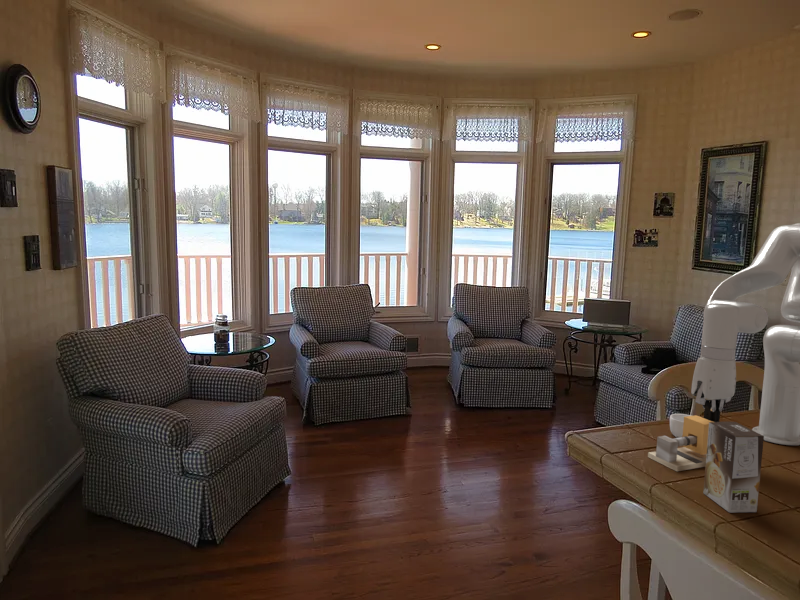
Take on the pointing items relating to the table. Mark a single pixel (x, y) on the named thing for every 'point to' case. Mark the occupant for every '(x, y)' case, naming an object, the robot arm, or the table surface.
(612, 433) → the table surface
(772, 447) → the table surface
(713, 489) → the coffee box
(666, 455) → the pipe stand
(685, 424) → the collar
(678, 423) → the teacup
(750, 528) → the table surface
